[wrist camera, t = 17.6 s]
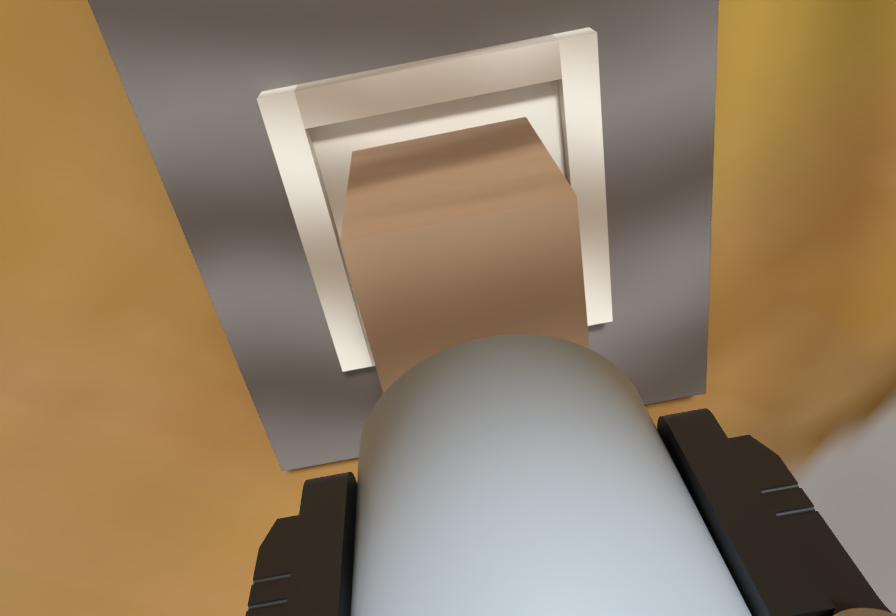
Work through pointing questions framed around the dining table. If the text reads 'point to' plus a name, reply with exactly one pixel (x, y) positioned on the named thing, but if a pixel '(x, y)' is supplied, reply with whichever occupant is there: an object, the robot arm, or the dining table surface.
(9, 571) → the dining table surface
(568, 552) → the pale blue rounded ovoid
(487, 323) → the walnut block
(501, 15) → the building board
